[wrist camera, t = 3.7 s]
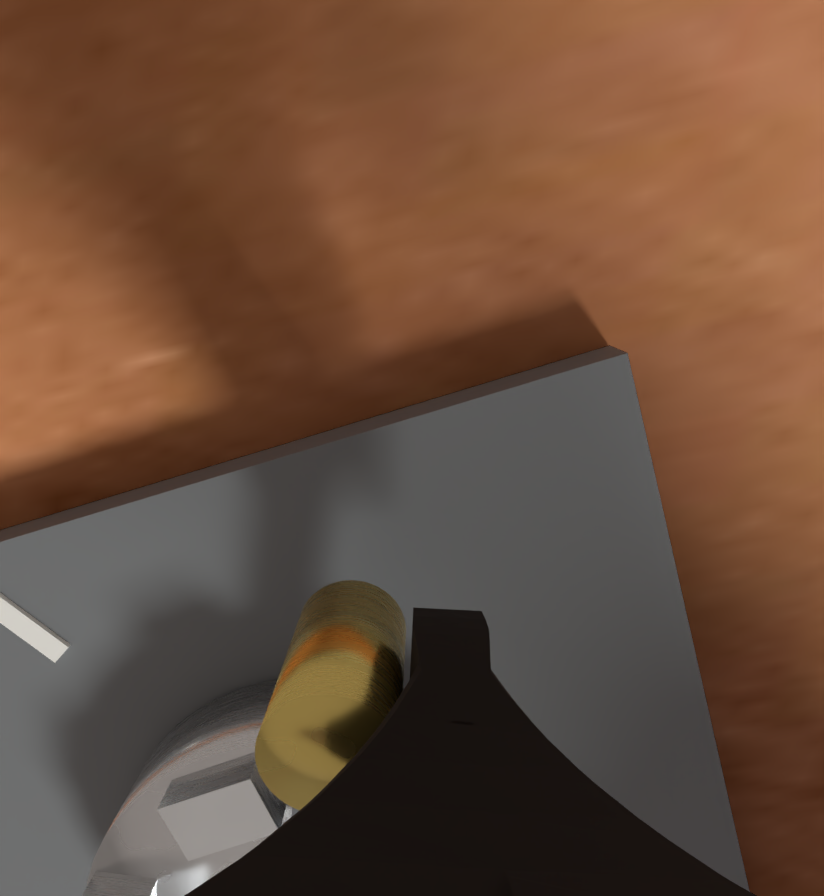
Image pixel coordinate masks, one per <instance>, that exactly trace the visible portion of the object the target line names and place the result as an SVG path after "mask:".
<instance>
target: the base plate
mask: <svg viewBox="0 0 824 896" xmlns="http://www.w3.org/2000/svg"><path fill="white" fill-rule="evenodd" d="M346 580H355V581H362V582H367V583H370V584H373V585H375V586H377V587H379V588H381V589H382V590H384V591H385V592H387V593H388V594H389V595H390V596H391V597H392V598H393V599H394V600H395V601H396V602H397V604H398V605H399V607H400V609H401V611H402V613H403V616H404V619H405V624H406V640H405V661H404V682H403V690H404V688H405V687H406V685H407V684H408V682H409V680H410V665H411V644H412V624H413V608H433V609H453V610H472V611H482V613H483V615H484V617H485V619H486V622H487V625H488V628H489V636H490V661H491V670H492V671H493V673H494V674H495V675H496V677H497V678H498V680H499V681H500V682H501V684H502V685H503V686H504V688H505V689H506V691H507V692H508V693H509V694H510V696H511V697H512V698H513V699H514V701H515V702H516V703H517V704H518V706H519V707H520V708H521V709H522V710H523V712H524V713H525V714H526V715H527V716H528V717H529V719H530V720H531V721H532V722H533V723H534V725H535V726H536V727H537V728H538V729H539V730H540V731H541V732H542V733H543V734H544V736H545V737H546V738H547V739H548V740H549V741H550V742H551V743H552V744H553V745H554V746H555V747H556V748H557V749H559V750H560V751H561V752H562V753H563V754H564V755H565V756H566V757H567V758H568V759H569V760H570V761H571V762H572V763H573V764H574V765H575V766H576V767H577V768H578V769H579V770H581V771H582V772H583V773H584V774H585V775H586V776H587V777H589V778H590V779H591V780H592V781H593V782H594V783H595V784H597V785H598V786H599V787H600V788H602V789H603V790H604V791H605V792H607V793H608V794H609V795H610V796H612V797H613V798H614V799H615V800H617V801H618V802H619V803H620V804H622V805H623V806H624V807H625V808H626V809H628V810H629V811H630V812H631V813H633V814H634V815H635V816H637V817H638V818H639V819H641V820H642V821H643V822H645V823H646V824H647V825H649V826H650V827H652V828H653V829H654V830H656V831H657V832H658V833H660V834H661V835H663V836H664V837H665V838H667V839H668V840H670V841H671V842H673V843H674V844H676V845H677V846H678V847H680V848H681V849H683V850H684V851H686V852H687V853H689V854H690V855H692V856H693V857H695V858H696V859H698V860H699V861H701V862H702V863H704V864H705V865H707V866H708V867H710V868H711V869H713V870H714V871H716V872H717V873H719V874H721V875H722V876H724V877H725V878H727V879H729V880H730V881H732V882H734V883H735V884H737V885H739V886H740V887H742V888H744V889H746V890H747V891H749V886H748V882H747V878H746V873H745V869H744V864H743V860H742V856H741V851H740V847H739V842H738V838H737V834H736V829H735V825H734V820H733V816H732V812H731V807H730V803H729V798H728V794H727V790H726V785H725V781H724V776H723V772H722V767H721V763H720V759H719V754H718V750H717V745H716V741H715V737H714V732H713V728H712V723H711V719H710V715H709V710H708V706H707V701H706V697H705V693H704V688H703V684H702V679H701V675H700V671H699V666H698V662H697V657H696V653H695V648H694V644H693V640H692V635H691V631H690V626H689V622H688V618H687V613H686V609H685V604H684V600H683V596H682V591H681V587H680V582H679V578H678V574H677V569H676V565H675V560H674V556H673V551H672V547H671V543H670V538H669V534H668V529H667V525H666V521H665V516H664V512H663V507H662V503H661V499H660V494H659V490H658V485H657V481H656V477H655V472H654V468H653V463H652V459H651V455H650V450H649V446H648V441H647V437H646V432H645V428H644V424H643V419H642V415H641V410H640V406H639V402H638V397H637V393H636V388H635V384H634V380H633V375H632V371H631V366H630V362H629V358H628V353H626V352H624V351H621V350H619V349H617V348H614V347H612V346H606V347H603V348H600V349H597V350H593V351H590V352H587V353H583V354H580V355H577V356H573V357H570V358H567V359H564V360H560V361H557V362H554V363H550V364H547V365H544V366H540V367H537V368H534V369H531V370H527V371H524V372H521V373H517V374H514V375H511V376H507V377H504V378H501V379H498V380H494V381H491V382H488V383H484V384H481V385H478V386H474V387H471V388H468V389H465V390H461V391H458V392H455V393H451V394H448V395H445V396H441V397H438V398H435V399H432V400H428V401H425V402H422V403H418V404H415V405H412V406H408V407H405V408H402V409H399V410H395V411H392V412H389V413H385V414H382V415H379V416H375V417H372V418H369V419H366V420H362V421H359V422H356V423H352V424H349V425H346V426H342V427H339V428H336V429H333V430H329V431H326V432H323V433H319V434H316V435H313V436H309V437H306V438H303V439H300V440H296V441H293V442H290V443H286V444H283V445H280V446H276V447H273V448H270V449H267V450H263V451H260V452H257V453H253V454H250V455H247V456H243V457H240V458H237V459H234V460H230V461H227V462H224V463H220V464H217V465H214V466H210V467H207V468H204V469H201V470H197V471H194V472H191V473H187V474H184V475H181V476H177V477H174V478H171V479H168V480H164V481H161V482H158V483H154V484H151V485H148V486H144V487H141V488H138V489H135V490H131V491H128V492H125V493H121V494H118V495H115V496H111V497H108V498H105V499H102V500H98V501H95V502H92V503H88V504H85V505H82V506H78V507H75V508H72V509H69V510H65V511H62V512H59V513H55V514H52V515H49V516H45V517H42V518H39V519H36V520H32V521H29V522H26V523H22V524H19V525H16V526H12V527H9V528H6V529H3V530H0V896H82V895H83V893H84V891H85V889H86V887H87V880H88V877H89V873H90V870H91V866H92V863H93V859H94V857H95V855H96V853H97V851H98V849H99V847H100V845H101V843H102V841H103V838H104V837H105V835H106V833H107V831H108V830H109V828H110V826H111V824H112V822H113V821H114V819H115V817H116V815H117V813H118V812H119V810H120V808H121V806H122V805H123V803H124V801H125V799H126V797H127V796H128V794H129V792H130V790H131V788H132V787H133V785H134V783H135V781H136V780H137V778H138V776H139V774H140V772H141V771H142V769H143V767H144V765H145V764H146V762H147V760H148V759H149V757H150V756H151V755H152V753H153V752H154V750H155V749H156V747H157V746H158V745H159V743H160V742H161V741H162V740H163V739H164V738H165V737H166V736H167V735H168V734H169V733H170V732H171V731H172V730H173V728H174V727H175V726H177V725H178V724H179V723H181V722H182V721H183V720H184V719H186V718H187V717H188V716H189V715H191V714H192V713H193V712H195V711H196V710H198V709H200V708H201V707H203V706H205V705H207V704H208V703H210V702H212V701H213V700H215V699H217V698H220V697H222V696H224V695H227V694H229V693H232V692H234V691H236V690H239V689H242V688H245V687H249V686H252V685H256V684H259V683H263V682H267V681H274V680H278V677H279V674H280V671H281V668H282V666H283V663H284V660H285V657H286V654H287V651H288V649H289V646H290V643H291V640H292V637H293V635H294V632H295V629H296V626H297V623H298V620H299V618H300V615H301V612H302V609H303V607H304V605H305V604H306V602H307V601H308V599H309V598H310V597H311V596H312V595H313V594H314V593H315V592H317V591H318V590H319V589H321V588H323V587H324V586H327V585H329V584H331V583H335V582H339V581H346ZM749 892H750V891H749Z"/></svg>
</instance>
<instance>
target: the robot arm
mask: <svg viewBox="0 0 824 896" xmlns="http://www.w3.org/2000/svg"><path fill="white" fill-rule="evenodd" d="M184 896H756V895H754V894H753V893H751V892H749V891H747V890H746V889H744V888H742V887H740V886H739V885H737V884H735V883H734V882H732V881H730V880H729V879H727V878H725V877H724V876H722V875H721V874H719V873H717V872H716V871H714V870H713V869H711V868H710V867H708V866H707V865H705V864H704V863H702V862H701V861H699V860H698V859H696V858H695V857H693V856H692V855H690V854H689V853H687V852H686V851H684V850H683V849H681V848H680V847H678V846H677V845H676V844H674V843H673V842H671V841H670V840H668V839H667V838H665V837H664V836H663V835H661V834H660V833H658V832H657V831H656V830H654V829H653V828H652V827H650V826H649V825H647V824H646V823H645V822H643V821H642V820H641V819H639V818H638V817H637V816H635V815H634V814H633V813H631V812H630V811H629V810H628V809H626V808H625V807H624V806H623V805H622V804H620V803H619V802H618V801H617V800H615V799H614V798H613V797H612V796H610V795H609V794H608V793H607V792H605V791H604V790H603V789H602V788H600V787H599V786H598V785H597V784H595V783H594V782H593V781H592V780H591V779H590V778H589V777H587V776H586V775H585V774H584V773H583V772H582V771H581V770H579V769H578V768H577V767H576V766H575V765H574V764H573V763H572V762H571V761H570V760H569V759H568V758H567V757H566V756H565V755H564V754H563V753H562V752H561V751H560V750H559V749H557V748H556V747H555V746H554V745H553V744H552V743H551V742H550V741H549V740H548V739H547V738H546V737H545V736H544V734H543V733H542V732H541V731H540V730H539V729H538V728H537V727H536V726H535V725H534V723H533V722H532V721H531V720H530V719H529V717H528V716H527V715H526V714H525V713H524V712H523V710H522V709H521V708H520V707H519V706H518V704H517V703H516V702H515V701H514V699H513V698H512V697H511V696H510V694H509V693H508V692H507V691H506V689H505V688H504V686H503V685H502V684H501V682H500V681H499V680H498V678H497V677H496V675H495V674H494V673H493V671H492V670H491V661H490V636H489V628H488V625H487V622H486V619H485V617H484V615H483V613H482V611H472V610H453V609H433V608H413V624H412V644H411V665H410V680H409V682H408V684H407V685H406V687H405V688H404V690H403V691H402V693H401V694H400V696H399V698H398V699H397V701H396V702H395V704H394V705H393V707H392V708H391V710H390V711H389V713H388V714H387V716H386V717H385V718H384V720H383V721H382V723H381V724H380V725H379V727H378V728H377V729H376V730H375V732H374V733H373V734H372V736H371V737H370V738H369V739H368V740H367V742H366V743H365V744H364V745H363V746H362V748H361V749H360V750H359V751H358V752H357V754H356V755H355V756H354V757H353V758H352V759H351V760H350V761H349V762H348V763H347V764H346V766H345V767H344V768H343V769H342V770H341V771H340V772H339V773H338V774H337V775H336V776H335V777H334V778H333V779H332V780H331V781H330V782H329V783H328V784H327V785H326V786H325V787H324V788H323V789H322V790H321V791H320V792H319V793H318V794H317V795H316V796H315V797H314V798H313V799H312V800H311V801H310V802H309V803H308V804H306V805H305V806H304V807H303V808H302V809H301V810H299V811H298V812H297V813H296V814H295V815H293V816H292V817H291V818H290V819H289V820H287V821H286V822H285V823H284V824H283V825H281V826H280V827H279V828H278V829H277V830H275V831H274V832H273V833H272V834H271V835H269V836H268V837H267V838H266V839H265V840H264V841H262V842H261V843H260V844H259V845H258V846H256V847H255V848H254V849H252V850H251V851H250V852H248V853H247V854H246V855H244V856H243V857H242V858H240V859H239V860H237V861H236V862H234V863H233V864H231V865H230V866H228V867H227V868H225V869H224V870H222V871H221V872H219V873H218V874H216V875H215V876H213V877H212V878H210V879H209V880H207V881H206V882H204V883H203V884H201V885H200V886H198V887H197V888H195V889H194V890H192V891H191V892H189V893H188V894H186V895H184Z"/></svg>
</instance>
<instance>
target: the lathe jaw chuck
mask: <svg viewBox="0 0 824 896" xmlns="http://www.w3.org/2000/svg"><path fill="white" fill-rule="evenodd" d="M405 640H406V624H405V619H404V616H403V613H402V611H401V609H400V607H399V605H398V604H397V602H396V601H395V600H394V599H393V598H392V597H391V596H390V595H389V594H388V593H387V592H385V591H384V590H382V589H381V588H379V587H377V586H375V585H373V584H370V583H367V582H362V581H355V580H346V581H339V582H335V583H331V584H329V585H327V586H324V587H323V588H321V589H319V590H318V591H317V592H315V593H314V594H313V595H312V596H311V597H310V598H309V599H308V601H307V602H306V604H305V605H304V607H303V609H302V612H301V615H300V618H299V620H298V623H297V626H296V629H295V632H294V635H293V637H292V640H291V643H290V646H289V649H288V651H287V654H286V657H285V660H284V663H283V666H282V668H281V671H280V674H279V677H278V680H274V681H267V682H263V683H259V684H256V685H252V686H249V687H245V688H242V689H239V690H236V691H234V692H232V693H229V694H227V695H224V696H222V697H220V698H217V699H215V700H213V701H212V702H210V703H208V704H207V705H205V706H203V707H201V708H200V709H198V710H196V711H195V712H193V713H192V714H191V715H189V716H188V717H187V718H186V719H184V720H183V721H182V722H181V723H179V724H178V725H177V726H175V727H174V728H173V730H172V731H171V732H170V733H169V734H168V735H167V736H166V737H165V738H164V739H163V740H162V741H161V742H160V743H159V745H158V746H157V747H156V749H155V750H154V752H153V753H152V755H151V756H150V757H149V759H148V760H147V762H146V764H145V765H144V767H143V769H142V771H141V772H140V774H139V776H138V778H137V780H136V781H135V783H134V785H133V787H132V788H131V790H130V792H129V794H128V796H127V797H126V799H125V801H124V803H123V805H122V806H121V808H120V810H119V812H118V813H117V815H116V817H115V819H114V821H113V822H112V824H111V826H110V828H109V830H108V831H107V833H106V835H105V837H104V838H103V841H102V843H101V845H100V847H99V849H98V851H97V853H96V855H95V857H94V859H93V863H92V866H91V870H90V873H89V877H88V880H87V887H86V889H85V891H84V893H83V895H82V896H184V895H186V894H188V893H189V892H191V891H192V890H194V889H195V888H197V887H198V886H200V885H201V884H203V883H204V882H206V881H207V880H209V879H210V878H212V877H213V876H215V875H216V874H218V873H219V872H221V871H222V870H224V869H225V868H227V867H228V866H230V865H231V864H233V863H234V862H236V861H237V860H239V859H240V858H242V857H243V856H244V855H246V854H247V853H248V852H250V851H251V850H252V849H254V848H255V847H256V846H258V845H259V844H260V843H261V842H262V841H264V840H265V839H266V838H267V837H268V836H269V835H271V834H272V833H273V832H274V831H275V830H277V829H278V828H279V827H280V826H281V825H283V824H284V823H285V822H286V821H287V820H289V819H290V818H291V817H292V816H293V815H295V814H296V813H297V812H298V811H299V810H301V809H302V808H303V807H304V806H305V805H306V804H308V803H309V802H310V801H311V800H312V799H313V798H314V797H315V796H316V795H317V794H318V793H319V792H320V791H321V790H322V789H323V788H324V787H325V786H326V785H327V784H328V783H329V782H330V781H331V780H332V779H333V778H334V777H335V776H336V775H337V774H338V773H339V772H340V771H341V770H342V769H343V768H344V767H345V766H346V764H347V763H348V762H349V761H350V760H351V759H352V758H353V757H354V756H355V755H356V754H357V752H358V751H359V750H360V749H361V748H362V746H363V745H364V744H365V743H366V742H367V740H368V739H369V738H370V737H371V736H372V734H373V733H374V732H375V730H376V729H377V728H378V727H379V725H380V724H381V723H382V721H383V720H384V718H385V717H386V716H387V714H388V713H389V711H390V710H391V708H392V707H393V705H394V704H395V702H396V701H397V699H398V698H399V696H400V694H401V693H402V691H403V682H404V661H405Z"/></svg>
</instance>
